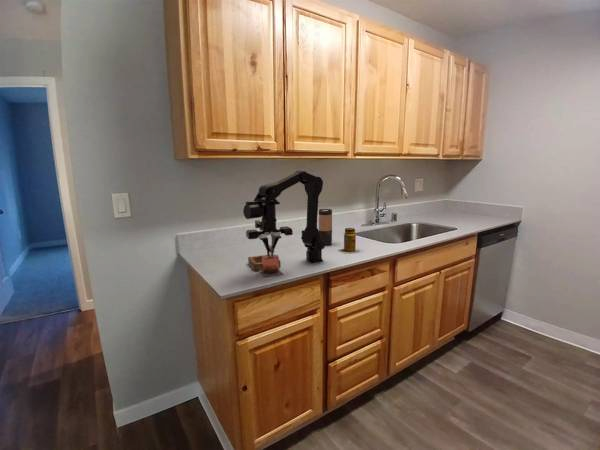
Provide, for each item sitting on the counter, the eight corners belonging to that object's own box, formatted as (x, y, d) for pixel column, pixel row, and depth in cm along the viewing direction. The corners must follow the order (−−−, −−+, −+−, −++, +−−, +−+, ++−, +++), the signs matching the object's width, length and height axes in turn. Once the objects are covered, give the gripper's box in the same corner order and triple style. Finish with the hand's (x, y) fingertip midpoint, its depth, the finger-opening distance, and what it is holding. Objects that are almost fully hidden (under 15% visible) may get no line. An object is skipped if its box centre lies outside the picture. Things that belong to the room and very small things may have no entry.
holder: (272, 260, 151) (272, 254, 150) (280, 267, 140) (280, 261, 139) (248, 263, 146) (248, 257, 146) (254, 271, 135) (254, 264, 135)
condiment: (358, 251, 163) (359, 229, 161) (345, 253, 159) (345, 230, 157) (350, 248, 169) (351, 226, 167) (337, 250, 166) (337, 228, 164)
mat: (277, 268, 138) (277, 267, 138) (283, 274, 131) (283, 273, 131) (258, 271, 135) (258, 270, 135) (263, 277, 128) (263, 276, 128)
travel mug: (331, 242, 182) (331, 208, 178) (332, 246, 175) (333, 210, 171) (318, 242, 182) (317, 209, 178) (319, 246, 174) (319, 211, 170)
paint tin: (276, 266, 137) (275, 244, 135) (281, 271, 131) (280, 248, 129) (260, 268, 135) (259, 246, 133) (265, 273, 128) (264, 250, 126)
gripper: (284, 211, 139) (284, 245, 142) (242, 214, 132) (244, 250, 135) (292, 215, 129) (293, 251, 132) (248, 219, 122) (249, 257, 125)
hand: (270, 252), depth 131 cm, fingers closed on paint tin
